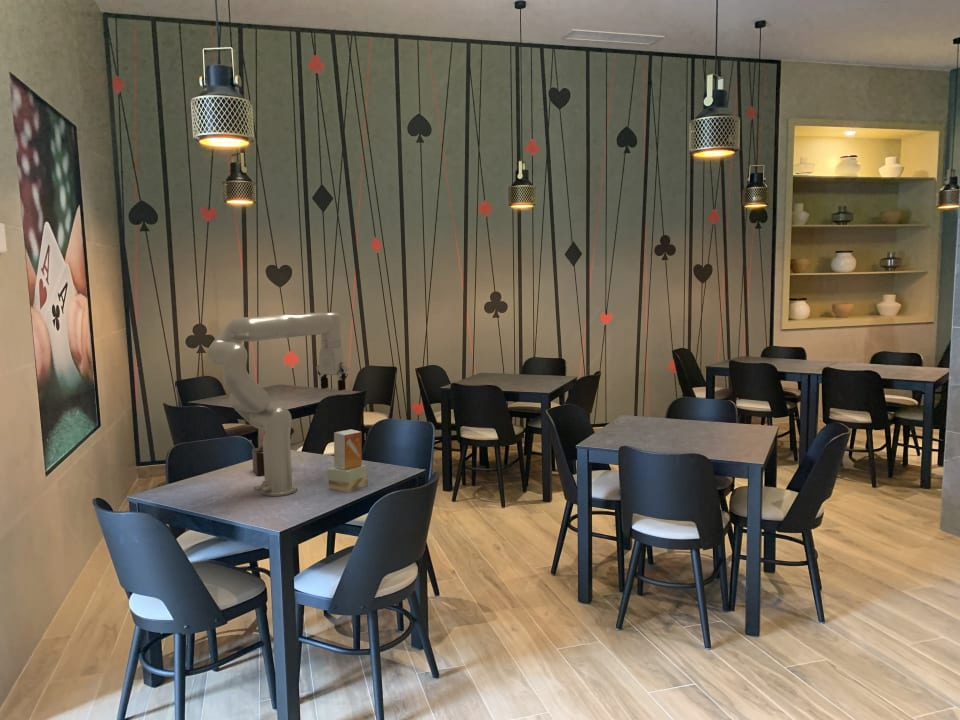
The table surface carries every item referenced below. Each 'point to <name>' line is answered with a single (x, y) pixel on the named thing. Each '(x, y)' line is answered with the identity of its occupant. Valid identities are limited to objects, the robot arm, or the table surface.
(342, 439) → the small box
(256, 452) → the manual coffee grinder
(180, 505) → the table surface
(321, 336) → the robot arm
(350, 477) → the tower top block
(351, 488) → the tower base block
